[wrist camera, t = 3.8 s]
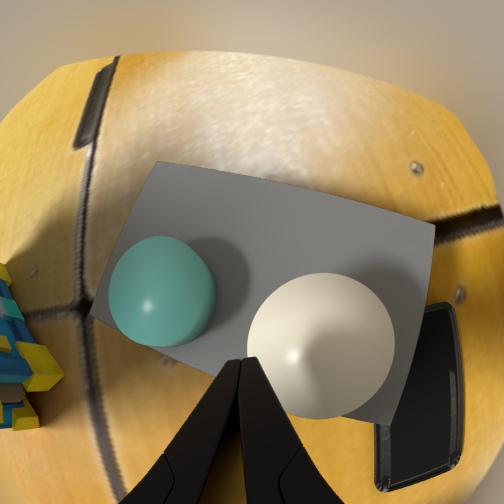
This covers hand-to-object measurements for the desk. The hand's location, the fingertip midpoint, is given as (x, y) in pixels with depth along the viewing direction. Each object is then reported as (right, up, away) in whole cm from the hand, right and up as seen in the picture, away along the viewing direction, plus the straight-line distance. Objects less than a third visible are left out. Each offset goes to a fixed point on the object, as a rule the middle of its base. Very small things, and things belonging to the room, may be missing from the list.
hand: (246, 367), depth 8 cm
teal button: (-4, 0, +10) cm, 11 cm away
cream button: (+3, -2, +6) cm, 7 cm away
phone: (+13, -8, +10) cm, 18 cm away
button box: (+1, 0, +14) cm, 14 cm away
